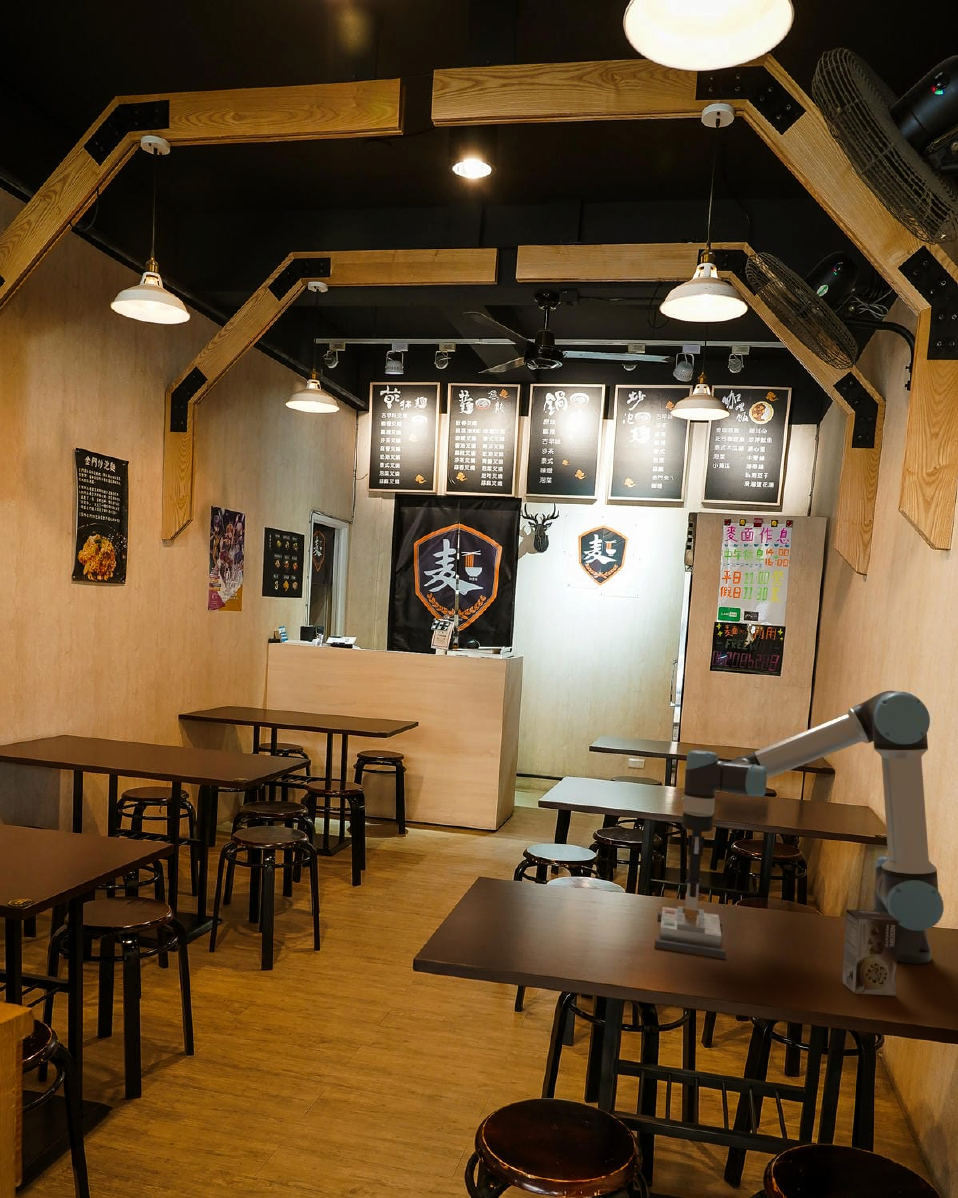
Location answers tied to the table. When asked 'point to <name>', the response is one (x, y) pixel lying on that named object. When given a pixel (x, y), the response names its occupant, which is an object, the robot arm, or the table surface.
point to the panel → (690, 927)
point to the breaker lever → (690, 912)
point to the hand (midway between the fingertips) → (691, 909)
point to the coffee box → (870, 952)
